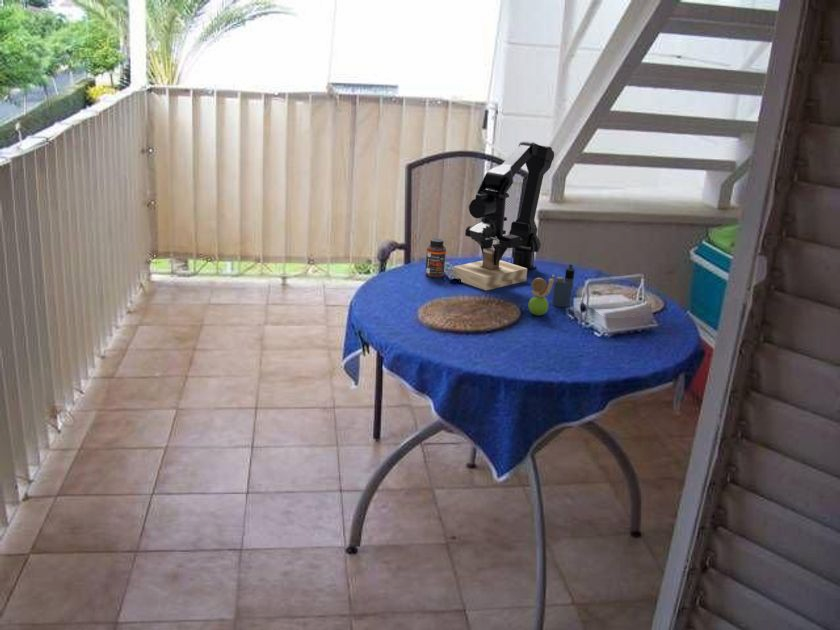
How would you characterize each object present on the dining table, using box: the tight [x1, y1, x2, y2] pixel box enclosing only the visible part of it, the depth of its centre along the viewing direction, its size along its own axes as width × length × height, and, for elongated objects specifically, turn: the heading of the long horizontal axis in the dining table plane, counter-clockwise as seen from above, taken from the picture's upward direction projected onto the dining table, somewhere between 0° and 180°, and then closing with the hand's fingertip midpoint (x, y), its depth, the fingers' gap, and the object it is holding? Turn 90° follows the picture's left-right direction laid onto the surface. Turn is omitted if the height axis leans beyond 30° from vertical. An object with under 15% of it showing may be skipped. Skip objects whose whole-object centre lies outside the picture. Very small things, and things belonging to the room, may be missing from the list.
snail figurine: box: [527, 274, 556, 316], centre depth 223 cm, size 5×6×12 cm
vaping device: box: [552, 264, 576, 308], centre depth 232 cm, size 3×5×12 cm, turn 89°
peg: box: [482, 246, 499, 271], centre depth 253 cm, size 4×4×6 cm
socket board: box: [452, 259, 528, 291], centre depth 254 cm, size 18×14×4 cm
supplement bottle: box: [424, 238, 447, 278], centre depth 255 cm, size 6×6×11 cm
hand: (491, 263), depth 253 cm, fingers closed on peg, 4 cm apart
